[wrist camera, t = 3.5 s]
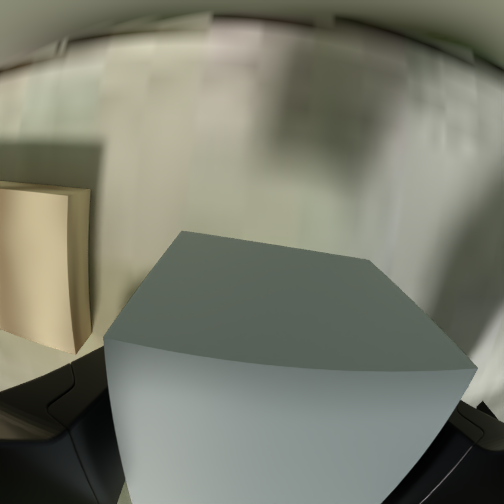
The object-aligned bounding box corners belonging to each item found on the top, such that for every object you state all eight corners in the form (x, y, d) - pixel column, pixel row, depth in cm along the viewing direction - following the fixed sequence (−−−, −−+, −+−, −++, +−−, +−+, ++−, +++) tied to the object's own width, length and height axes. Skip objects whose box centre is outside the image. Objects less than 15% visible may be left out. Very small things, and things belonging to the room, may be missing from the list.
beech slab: (90, 189, 15) (68, 195, 13) (91, 333, 18) (75, 354, 16) (-16, 179, 15) (-41, 185, 12) (-7, 303, 17) (-26, 318, 15)
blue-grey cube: (369, 260, 9) (477, 368, 4) (322, 399, 11) (357, 526, 5) (182, 230, 9) (103, 336, 4) (170, 383, 10) (136, 517, 5)
